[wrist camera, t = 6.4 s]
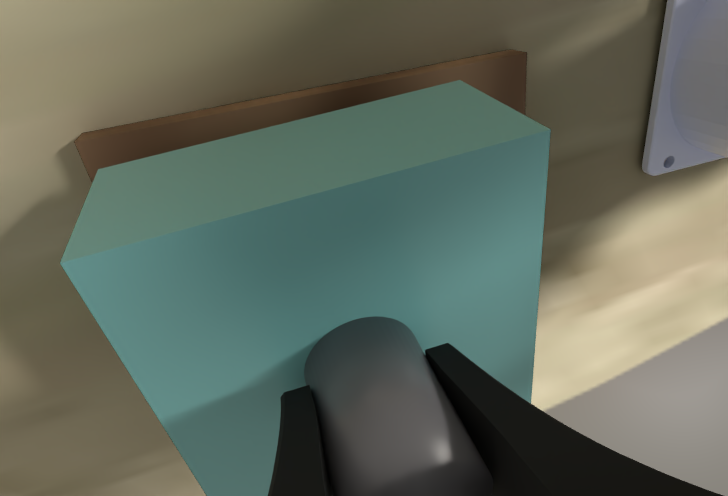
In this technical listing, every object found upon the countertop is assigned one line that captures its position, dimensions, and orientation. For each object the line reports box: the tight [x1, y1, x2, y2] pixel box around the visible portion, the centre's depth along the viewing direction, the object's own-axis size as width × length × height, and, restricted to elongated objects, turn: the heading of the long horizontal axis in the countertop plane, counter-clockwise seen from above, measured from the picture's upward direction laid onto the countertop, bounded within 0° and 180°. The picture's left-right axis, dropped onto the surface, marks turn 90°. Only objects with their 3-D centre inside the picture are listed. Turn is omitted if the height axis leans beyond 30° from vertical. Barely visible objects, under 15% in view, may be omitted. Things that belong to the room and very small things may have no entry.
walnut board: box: [74, 50, 527, 183], centre depth 18 cm, size 14×12×1 cm
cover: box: [60, 80, 551, 496], centre depth 13 cm, size 10×10×8 cm
